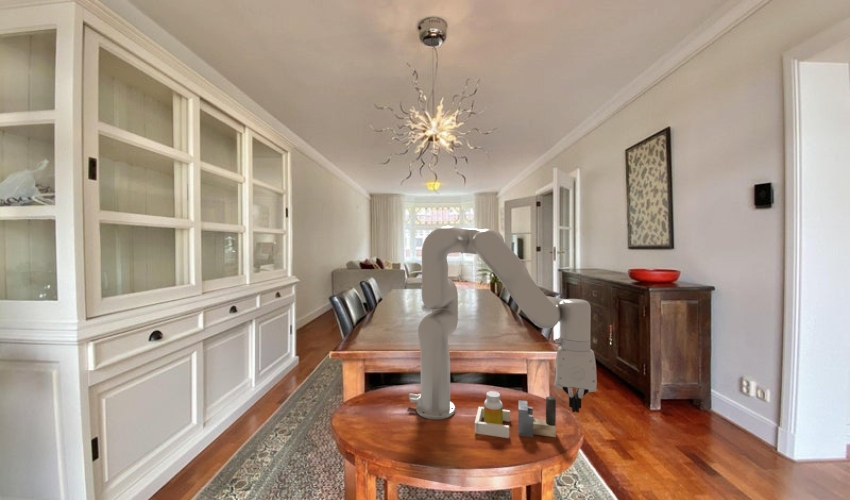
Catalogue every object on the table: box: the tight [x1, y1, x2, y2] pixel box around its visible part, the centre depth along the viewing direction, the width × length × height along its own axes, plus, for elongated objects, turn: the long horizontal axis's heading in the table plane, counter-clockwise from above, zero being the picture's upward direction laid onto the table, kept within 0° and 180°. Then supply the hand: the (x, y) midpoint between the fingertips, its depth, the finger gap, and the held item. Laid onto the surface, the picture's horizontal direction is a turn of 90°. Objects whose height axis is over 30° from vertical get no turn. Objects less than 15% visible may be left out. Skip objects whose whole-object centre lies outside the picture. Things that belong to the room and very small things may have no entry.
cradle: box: [474, 406, 511, 439], centre depth 100 cm, size 10×10×3 cm
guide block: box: [517, 399, 534, 438], centre depth 97 cm, size 4×6×7 cm
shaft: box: [533, 396, 557, 438], centre depth 96 cm, size 8×3×10 cm, turn 74°
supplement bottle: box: [483, 390, 504, 425], centre depth 99 cm, size 5×5×10 cm
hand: (574, 409), depth 93 cm, fingers closed
